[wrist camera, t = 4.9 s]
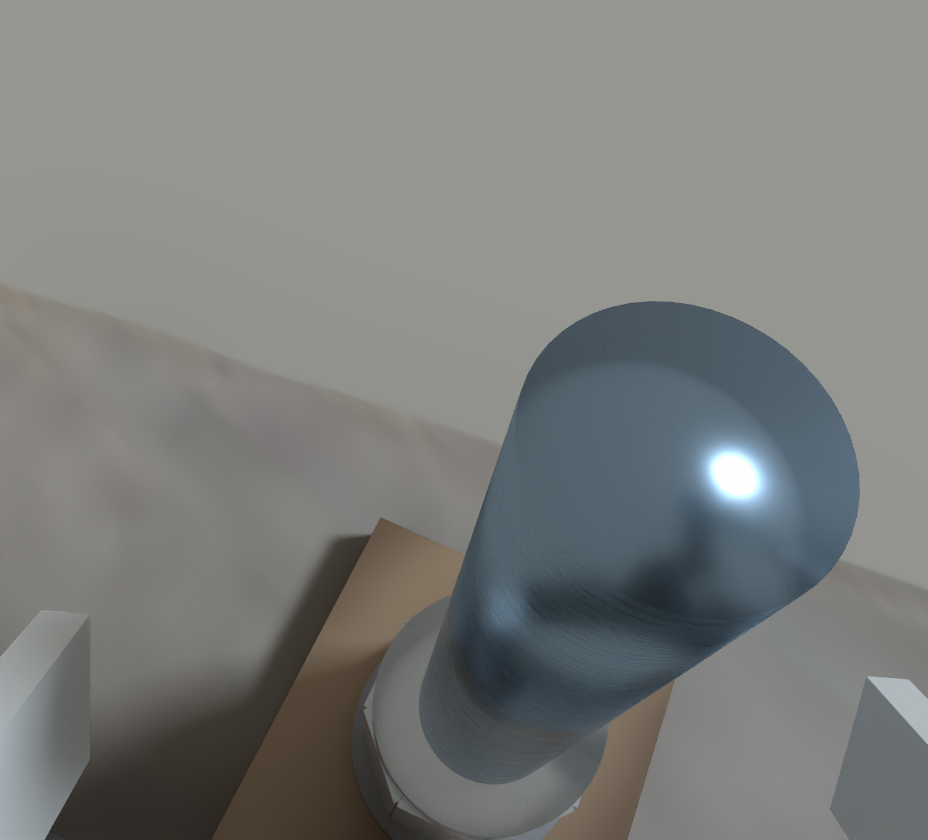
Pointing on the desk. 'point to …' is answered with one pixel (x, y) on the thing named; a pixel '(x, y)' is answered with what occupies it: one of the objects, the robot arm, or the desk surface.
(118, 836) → the desk surface
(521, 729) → the strut
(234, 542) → the desk surface
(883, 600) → the desk surface
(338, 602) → the stud base
